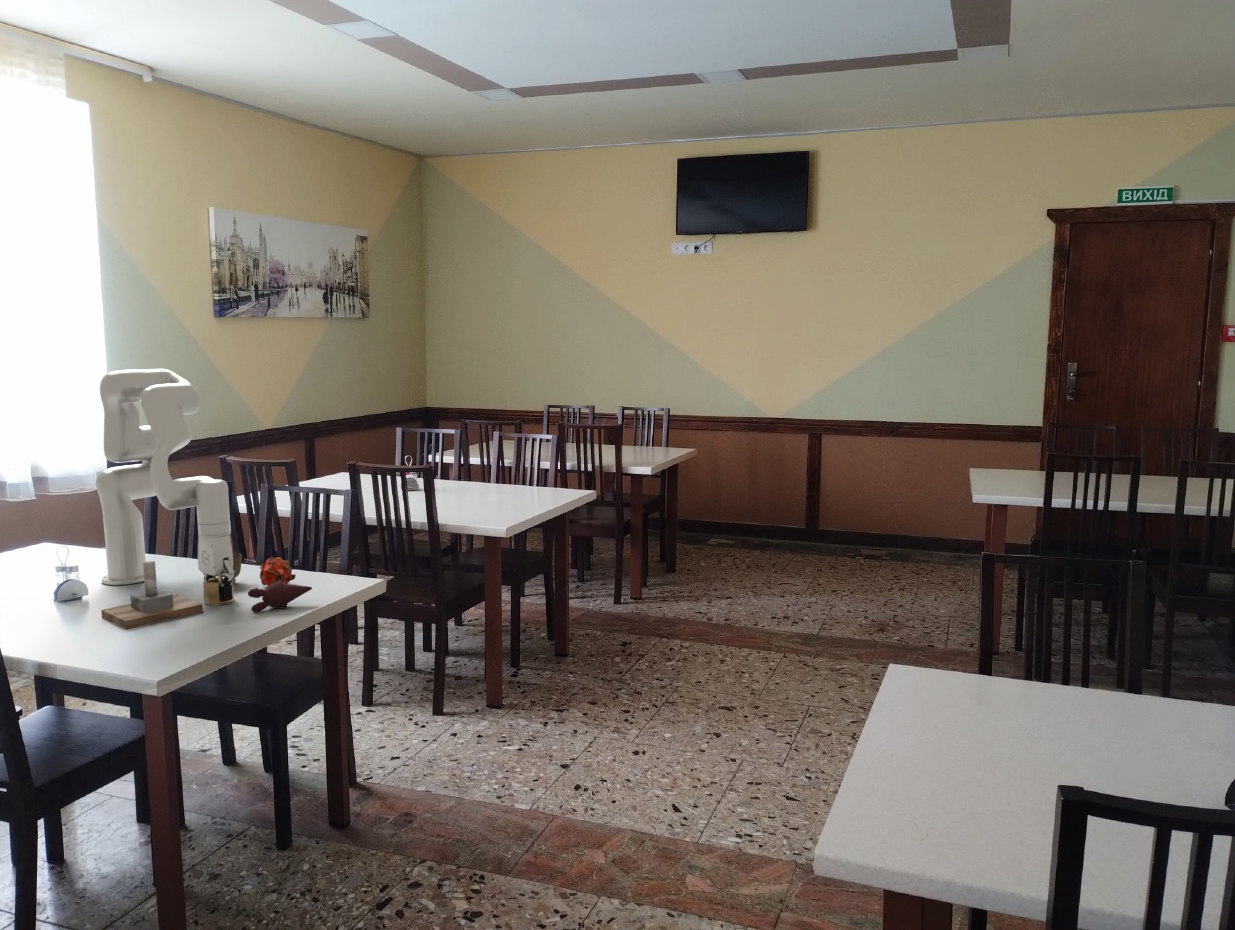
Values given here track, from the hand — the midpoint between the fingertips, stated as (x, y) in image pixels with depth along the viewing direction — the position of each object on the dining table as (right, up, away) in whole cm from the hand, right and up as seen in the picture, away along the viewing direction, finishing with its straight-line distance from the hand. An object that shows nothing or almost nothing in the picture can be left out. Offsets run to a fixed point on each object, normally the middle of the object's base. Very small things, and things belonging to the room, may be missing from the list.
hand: (219, 597), depth 240 cm
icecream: (+18, -2, -6) cm, 19 cm away
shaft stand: (-11, -3, -11) cm, 16 cm away
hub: (0, -1, 0) cm, 1 cm away
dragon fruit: (+10, +1, +14) cm, 17 cm away
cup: (-5, +1, +17) cm, 18 cm away
